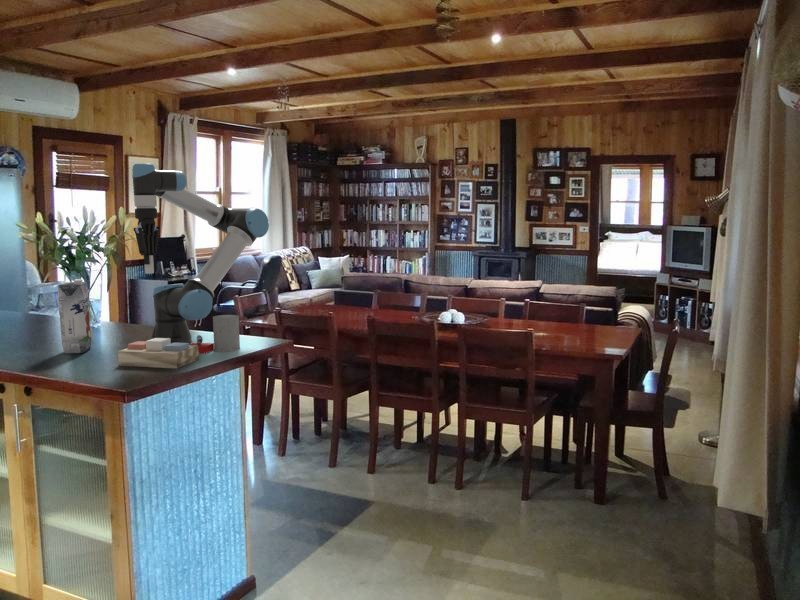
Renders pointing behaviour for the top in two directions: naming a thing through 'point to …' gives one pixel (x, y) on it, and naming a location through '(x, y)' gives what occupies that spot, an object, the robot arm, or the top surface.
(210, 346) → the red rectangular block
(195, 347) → the frame
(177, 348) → the blue key
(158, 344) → the white key
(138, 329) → the top surface
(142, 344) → the red key
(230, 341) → the grey cylinder
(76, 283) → the juice carton
